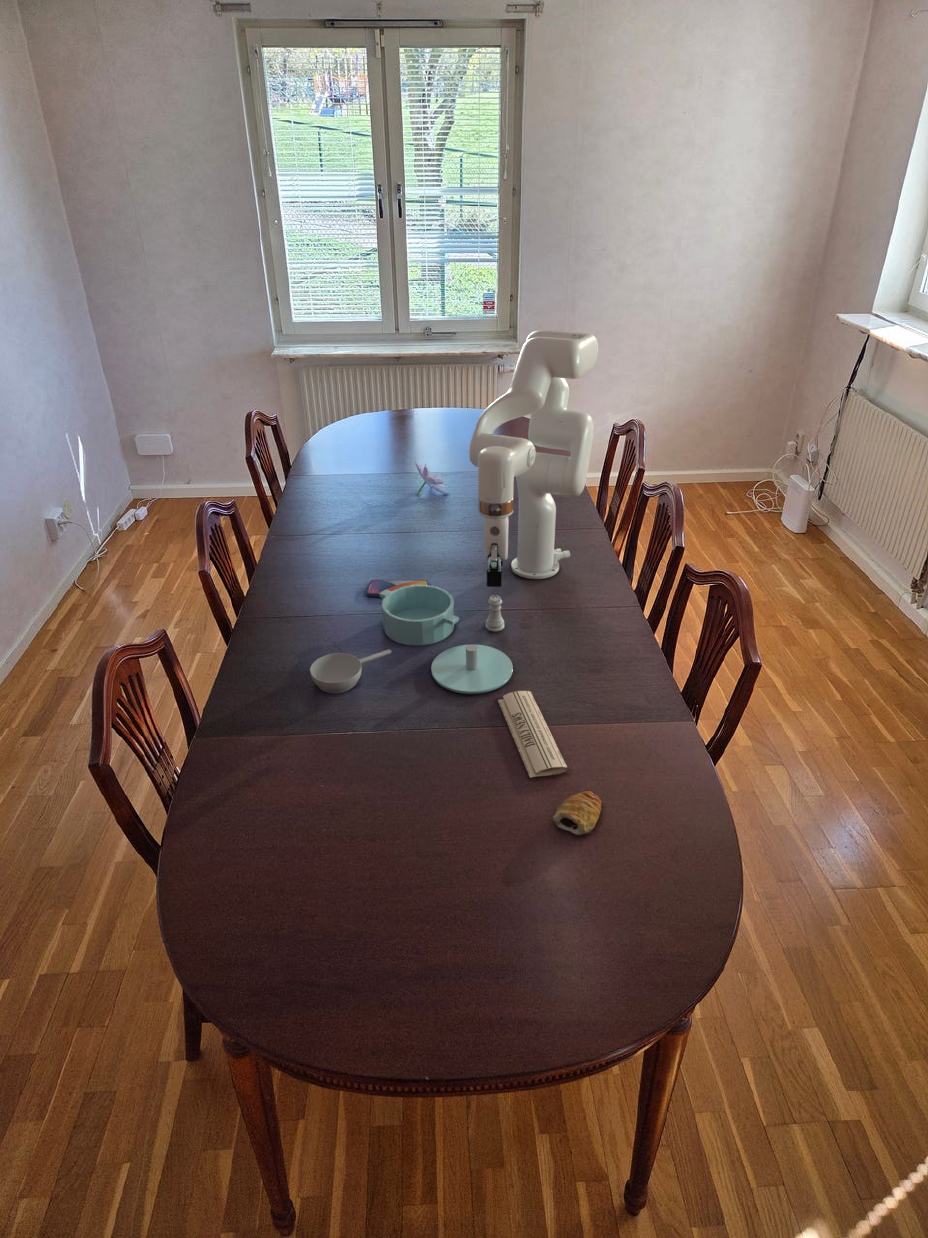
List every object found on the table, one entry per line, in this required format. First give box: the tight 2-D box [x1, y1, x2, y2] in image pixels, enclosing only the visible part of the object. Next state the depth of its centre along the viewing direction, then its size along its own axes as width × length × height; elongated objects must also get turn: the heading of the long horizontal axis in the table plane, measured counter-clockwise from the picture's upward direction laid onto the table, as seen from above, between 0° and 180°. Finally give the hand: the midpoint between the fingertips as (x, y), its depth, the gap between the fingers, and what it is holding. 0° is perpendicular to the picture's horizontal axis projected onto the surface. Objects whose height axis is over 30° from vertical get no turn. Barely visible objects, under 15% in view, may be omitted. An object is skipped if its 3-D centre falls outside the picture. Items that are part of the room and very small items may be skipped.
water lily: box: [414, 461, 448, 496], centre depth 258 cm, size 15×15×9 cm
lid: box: [430, 643, 514, 695], centre depth 175 cm, size 18×18×6 cm
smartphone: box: [366, 579, 429, 598], centre depth 207 cm, size 7×15×1 cm, turn 85°
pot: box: [378, 584, 460, 646], centre depth 191 cm, size 17×22×6 cm
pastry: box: [552, 790, 602, 836], centre depth 139 cm, size 9×7×4 cm
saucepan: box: [309, 649, 392, 694], centre depth 175 cm, size 11×18×4 cm, turn 118°
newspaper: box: [497, 690, 568, 779], centre depth 158 cm, size 24×7×2 cm, turn 12°
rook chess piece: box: [485, 594, 505, 633], centre depth 189 cm, size 4×4×8 cm
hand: (494, 575), depth 184 cm, fingers open, 9 cm apart
